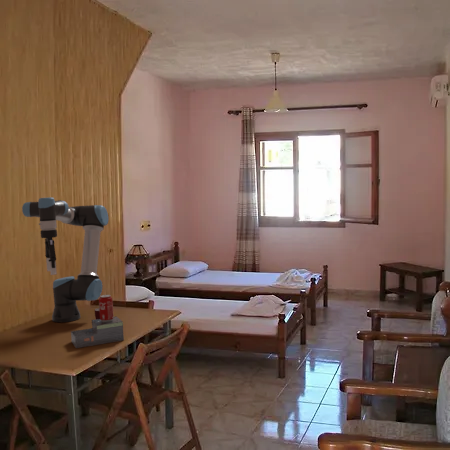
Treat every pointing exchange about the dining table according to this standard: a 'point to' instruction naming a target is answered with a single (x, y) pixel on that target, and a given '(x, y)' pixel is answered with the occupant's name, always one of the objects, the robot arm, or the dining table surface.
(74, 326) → the dining table surface
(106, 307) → the beverage can
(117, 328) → the stand
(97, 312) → the mug
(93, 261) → the robot arm
